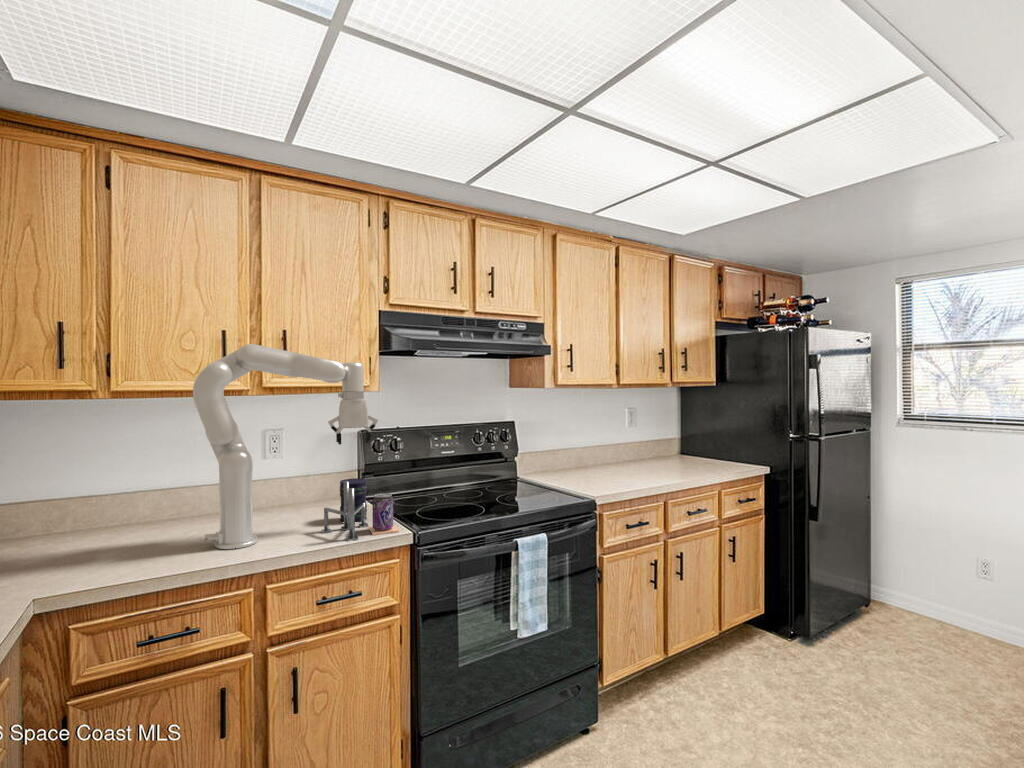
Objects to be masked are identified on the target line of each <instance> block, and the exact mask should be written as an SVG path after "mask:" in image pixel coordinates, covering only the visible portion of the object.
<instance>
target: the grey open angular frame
mask: <svg viewBox="0 0 1024 768" xmlns="http://www.w3.org/2000/svg"><path fill="white" fill-rule="evenodd" d="M360 510H361V522H360V523H358V527H359V526H360V527H362V528H365V527H364V526H368V527H369V524H368V522H366V520H365V503H361V505H360V506H358V507H357V508H356V509H355V506H354V488H349V481H345V482H344V512H343V511H340V509H339V510H338V509H333V508H330V507H324V508H323V521H324V522H323V524H324V525H323V526H324V527H323V529H321V534H322V533H323V534H328V532H331V533H332V529H331V528H329V513H333V514H337V515H344V523H343V526H340V529H341V531H342V530H346V531H348V536H345V539H347V540H346V542H350V541H349V540H353V541H357V540H356V539H358V540H359V536H358V535H356V534H355V533H356V529H355V527H356V525H355V524H356V523H355V514H356V513H357V512H358V511H360ZM360 527H359V528H360Z"/></svg>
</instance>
